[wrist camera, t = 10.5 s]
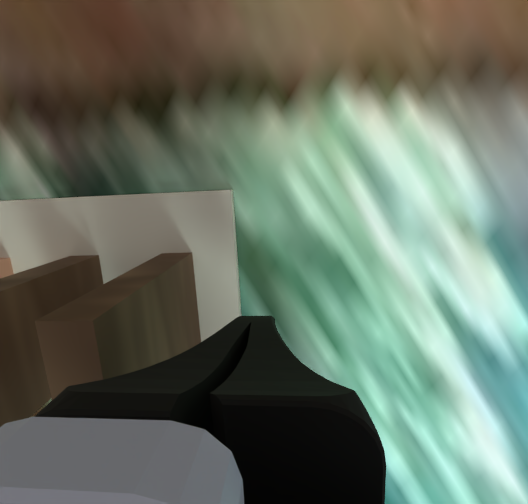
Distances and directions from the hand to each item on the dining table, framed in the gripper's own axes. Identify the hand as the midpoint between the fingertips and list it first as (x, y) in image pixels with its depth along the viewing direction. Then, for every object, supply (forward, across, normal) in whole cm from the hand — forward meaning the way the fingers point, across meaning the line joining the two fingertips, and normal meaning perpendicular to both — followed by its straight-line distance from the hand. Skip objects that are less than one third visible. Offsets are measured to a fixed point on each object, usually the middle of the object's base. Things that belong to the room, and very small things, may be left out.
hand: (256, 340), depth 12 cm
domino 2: (+4, +4, 0) cm, 6 cm away
